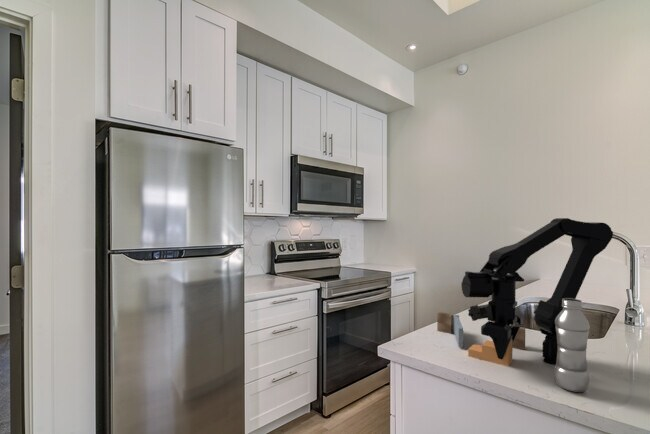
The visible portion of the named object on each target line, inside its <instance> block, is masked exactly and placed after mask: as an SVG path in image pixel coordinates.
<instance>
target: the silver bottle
mask: <svg viewBox="0 0 650 434" xmlns="http://www.w3.org/2000/svg"><path fill="white" fill-rule="evenodd" d="M562 307H563V310H562V311H561V312H560V313H559V314H558V316H557V317H556V319H555V325H556V333H557V344H558V346H557V347H558V352H557V361H556V364H554V365H555V366H554V372H553V376H554V381H555V382H556V384H557V385H558V386H559V387H560V388H562V389H564V390H567V391H571V392H576V393H582V392H585V391H587V390H588V388H589V385H590V375H589V371H588V364H587V363H588V362H587V349H588V347H587V346H588V338H589V335H590V334H589V333H590V328H591V326H590V323H589V320H588V318H587V317H586V316H585V315H584V313H583V312H582V310H583V302H582V300H581V299H577V298H576V299H572V298H563V299H562Z"/></svg>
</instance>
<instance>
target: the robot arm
mask: <svg viewBox="0 0 650 434" xmlns="http://www.w3.org/2000/svg"><path fill="white" fill-rule="evenodd" d="M564 236H568V237H571V238H570V242H571V247H572V248H571V249H572V250H571V253H570V255H569V258H568V260H567V262H566V265H565V266H564V269H563V271H562V273H561V276H560V278H559V280H558V282H557V284H556V287H555V289H554V291H553V294H552V295H551V297H550V298H549V299H547V300H546V301H545V300H542V299H540V300H539V302H538V304H537V307H536V309H535V311H533V314H534V321H535V324H536V326H537V327H538V328H539V330H540V333H541V334H542V335H545V337H544V338H545V339H544V340H543V341H542V358H543V362H544V363H548V364H553V365H556V361H557V352H558V347H557V346H558V344H557V333H556V325H555V319H556V317H557V316H558V314H559V313H560V312H561V311H562V310H563V307H562V299H563V298H572V299H577V297H578V294H579V292H580V290H581V287H582V286H583V283H584V281H585V278H586V276H587V274H588V272H589V270H590V268H591V264H592V262H593V261H594V258H595V257H596V256H597V255H599V254H600V253H602V252H603V251H604V250H605V249H606V248H607V246H608V245H609V244H610V242H611V241H612V239H613V237H614V231H613V230H612V228H611V226H610V225H608V224H607V223H605V222H592V221H591V222H589V221H588V222H586V221H579V220H574V219H571V218H569V217H566V218H565V217H561V218H560V217H559V218H558V217H557V218H553V219H552V220H551V221H550V222H549V223H547V224H546V225H543V226H541V227H540V228H539V229H537V230H536V231H534V232H533V233H531V234H529V235H527V236H526V237H524V238H522V239H521V240H520V241H517V242H516V243H513V244H510V245H506V246H503V247H500V248H498V249H495V250H493V251H492V252H489V255H488V260H487V261H486V263H485V264H484V265H483V267H482V268H481V269H480V271H474V272H473V271H469V270H467V271H465V272H464V276H463V278H462V281H461V292H462V295H463V297H465V298H490V296H491V299H490V300H489V301H488V302H487V304H481V305H478V304H475V305H471V306H470V307H469V309H468V310H467V311H468V314H467V315H468V316H469V317H470V318H471V320H472V321H473V322H474V321H478V320H483V319H487V321H486V322H485V323H484V324H483V325H481V326H480V334H481V335H482V336H485V337H489V338H491V341H493V343H494V346H495V349H496V353H497V356H498V358H499V359H503V357H504V355H505V353H506V350H507V348H508V346H509V343H510V341H511V339H513V341H514V339H515V337H516V335H517V333H518V331H519V329H520V327H521V326H522V325H523V324H524V316H523V315H522V314H521V313H520V312H517V311H516V307H517V306H518V301H516V299H517V298H516V293H517V292H516V291H517V289H516V287H517V286H516V283H517V282H521V283H522V282H524V281H525V279H524V278H523V277H522V276H521V275H520V273H519V272H517V271H519V269H521V268H522V267H523V266H524V265H525V264H526V263H527V261H528V259H529V258H530V257H531V256H532V255H534V254H536V253H537V252H539V251H541V250H542V249H544V248H545V247H547V246H549V245H551V243H553V242H555V241H557V240H558V239H560V238H562V237H564ZM516 323H518V325H519V326H518V325H515V324H516Z"/></svg>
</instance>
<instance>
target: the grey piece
mask: <svg viewBox="0 0 650 434" xmlns="http://www.w3.org/2000/svg"><path fill="white" fill-rule="evenodd" d="M452 334H454V336H455V340H456V343H457V345H458V347H459V348H463V347H464V328H463V325H462V323H461V320H460V315H458V314H453V333H452Z"/></svg>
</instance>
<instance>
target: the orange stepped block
mask: <svg viewBox="0 0 650 434" xmlns="http://www.w3.org/2000/svg"><path fill="white" fill-rule="evenodd" d="M467 350H468V351H467V352H468V353H467V354H468V355H467V357H468V358H469V357H470V358H474V359H478V360H482V361H486V362H489V363H490V362H491V363H494V364H497V365H501V366H505V367H509V366H510V365H511V363H512V362H513V339H511V341H510V343H509V346H508V348H507V350H506V353H505V355H504V357H503V359H499V358H498V356H497V353H496V349H495V346H494V343H493V340H490V339H488V340H487V339H486V340H485V341H484V342H483V343H482V344H481V345H480V344H475V343H473V344H472V345H471V346H470V347H469V348H468V349H467Z"/></svg>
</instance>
